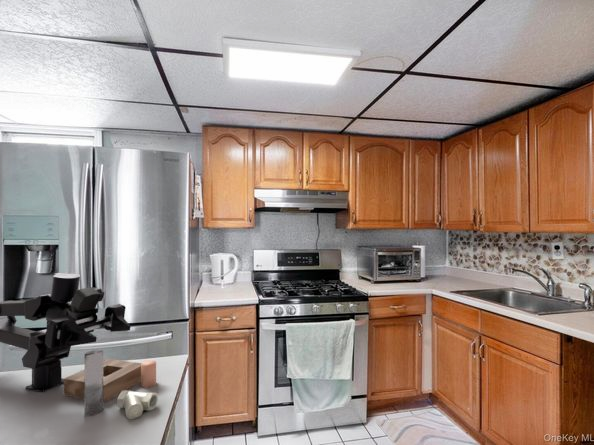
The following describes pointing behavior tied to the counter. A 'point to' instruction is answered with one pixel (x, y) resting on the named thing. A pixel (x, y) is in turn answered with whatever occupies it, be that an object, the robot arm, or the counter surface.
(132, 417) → the pipe fitting
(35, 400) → the counter surface
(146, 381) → the short terracotta pin
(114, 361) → the walnut block
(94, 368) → the tall metal pin
